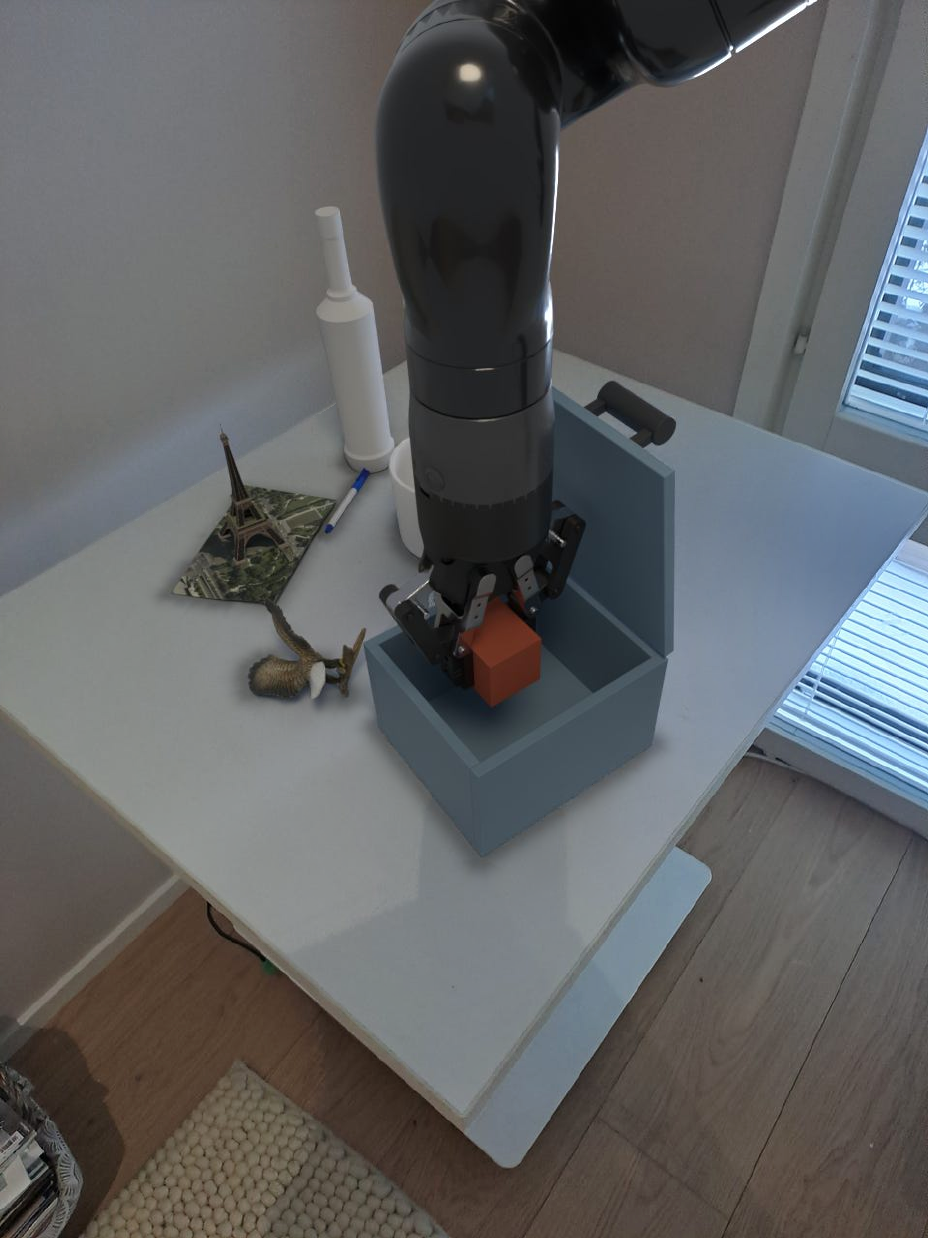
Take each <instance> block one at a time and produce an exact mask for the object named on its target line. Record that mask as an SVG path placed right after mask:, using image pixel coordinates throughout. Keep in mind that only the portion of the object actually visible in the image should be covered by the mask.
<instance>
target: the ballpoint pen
mask: <svg viewBox="0 0 928 1238" xmlns="http://www.w3.org/2000/svg"><path fill="white" fill-rule="evenodd" d="M365 469H366V468H364V469H363V470H362V471H361V472H359V475H357V477H356V478H355V481H354V482H353V484H352V485H351V486H350V490H348V492H347V494H346V495H345V497H344V499H343V500H342V502H341V503H340V505H339V506H338V508H337V509H336V511H335V512H334V514H333V516H332V517H331V519H330V520H329V521H328V523H327V524H326V527H325V530H324V533H325V534H329V533H330V532H331V531H332V530H333V529H334V527H335V526H336V524H337V523H338V521H339V520H340V518H342V515H343V513H344V512H345V511H346V509H347V507H348V506H349V505H350V503H351V501H352V500H353V499H354V497H355V495H356V494H357V493H358V492H359V491H360V489H361V488H362V486H363V485H364V483H365V481H366V480H367V478H368V476H369V475H370V474H371V473H370V472H369V471H368V470H365Z"/></svg>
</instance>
